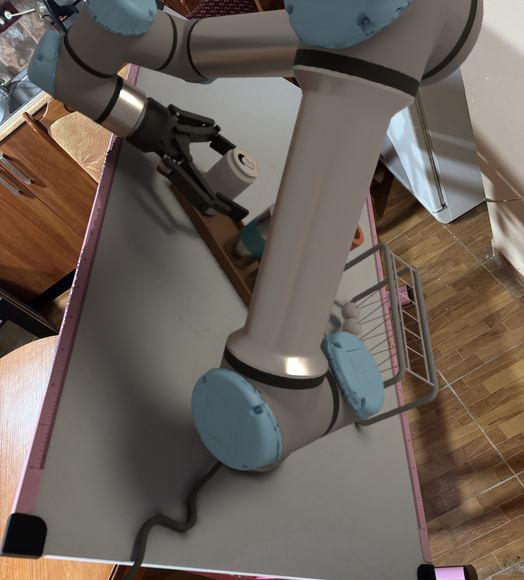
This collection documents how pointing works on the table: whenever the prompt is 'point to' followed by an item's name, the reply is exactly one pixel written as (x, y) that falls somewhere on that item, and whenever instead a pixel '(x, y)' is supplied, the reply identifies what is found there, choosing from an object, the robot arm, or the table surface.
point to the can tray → (220, 242)
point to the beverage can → (232, 174)
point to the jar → (357, 238)
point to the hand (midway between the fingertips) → (243, 187)
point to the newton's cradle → (354, 327)
